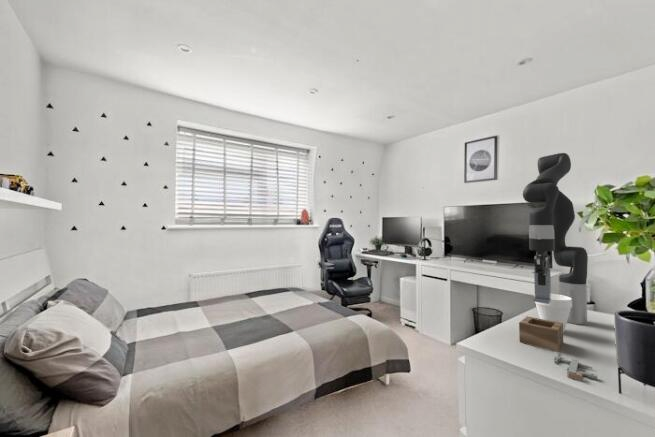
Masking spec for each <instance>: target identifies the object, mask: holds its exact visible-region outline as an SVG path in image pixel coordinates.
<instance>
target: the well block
mask: <svg viewBox="0 0 655 437" xmlns="http://www.w3.org/2000/svg"><path fill="white" fill-rule="evenodd" d="M518 324H519V325H518V330H519V332H518V333H519V335H518V336H519V337H518V338H519V343H521V344H525V345H531V346H534V347H537V348H542V349H546V350H550V351H554V352H557V353H559V350H560V349H561V347H562V346H563V344H564V333H563V323H559V322H554V321H549V320H543V319H540V318H538V317H534V316H533V317H532V316H528V315H526V316H525V317H524V318H523V319H522V320H521V321H519V322H518Z"/></svg>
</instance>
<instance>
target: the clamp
mask: <svg viewBox="0 0 655 437" xmlns="http://www.w3.org/2000/svg"><path fill="white" fill-rule="evenodd" d="M556 355H557V356H556ZM556 355H555V356H554V361H553V362H554V364H559V362H563V363H567V364H569V367H567V368H566V370H567V371H566V377H567V378H568V379H572V380H575V381H578V382H584V381H583V380H584V377H587V379H592V380H595V381H598V375H597V374H596V373H592V372H584V371H582V370H578V367H581V368H587V369H591V370H593V366H589V365H587V364H584V363H580V360H579V359H575V358H571V360H569V359H565V358H561V356H562V355H561V353H560V352H557V354H556Z"/></svg>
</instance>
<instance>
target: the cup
mask: <svg viewBox="0 0 655 437" xmlns="http://www.w3.org/2000/svg"><path fill="white" fill-rule="evenodd" d="M533 296H534V297H535V293H534V294H533ZM534 303H535V305H536V309H537V313H538V316H539V319H543V320H549V321H554V322H559V323H563V334H564V333H565V330H566V327H567V323H568V322H567V320H568V316H569V313H570V309H571V307H572V298H570V297H567V296H563V295H560V294H557V293H556V294H555V293H551V302H550V303H549V304H546V303H540V302H534Z"/></svg>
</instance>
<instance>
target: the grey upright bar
mask: <svg viewBox="0 0 655 437" xmlns="http://www.w3.org/2000/svg"><path fill="white" fill-rule="evenodd" d="M533 270H534V278H533V279H534V280H533V281H534V294H535V296H534V297H533V302H534V303H535V302H540V303H546V304H549V303H550V302H551V294H552V292H551V291H552V289H551V288H552V286H551V268H550V267H549V268H547V269H546V275H545V278H546V285H545V286H543V285H538V275H537V273H536V272H535V267H534V268H533ZM539 270H542V269H539Z"/></svg>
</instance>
